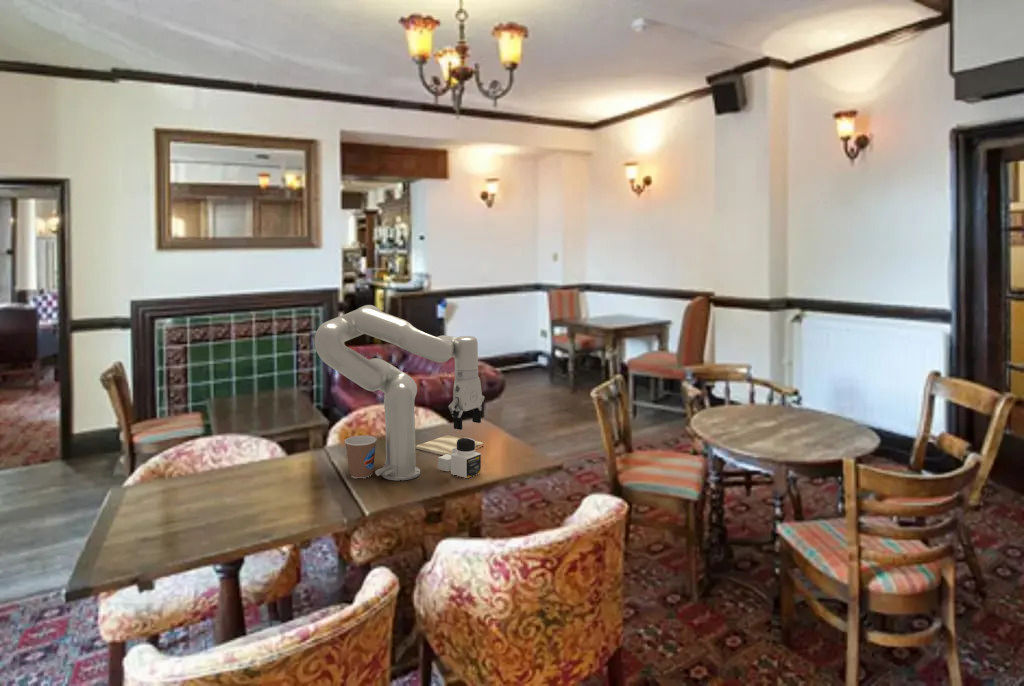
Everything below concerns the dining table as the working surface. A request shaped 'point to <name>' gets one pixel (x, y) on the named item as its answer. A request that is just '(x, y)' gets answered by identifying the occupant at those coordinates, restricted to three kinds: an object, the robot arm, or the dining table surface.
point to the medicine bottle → (465, 459)
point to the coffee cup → (361, 455)
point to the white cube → (444, 462)
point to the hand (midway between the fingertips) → (467, 425)
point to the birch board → (442, 445)
